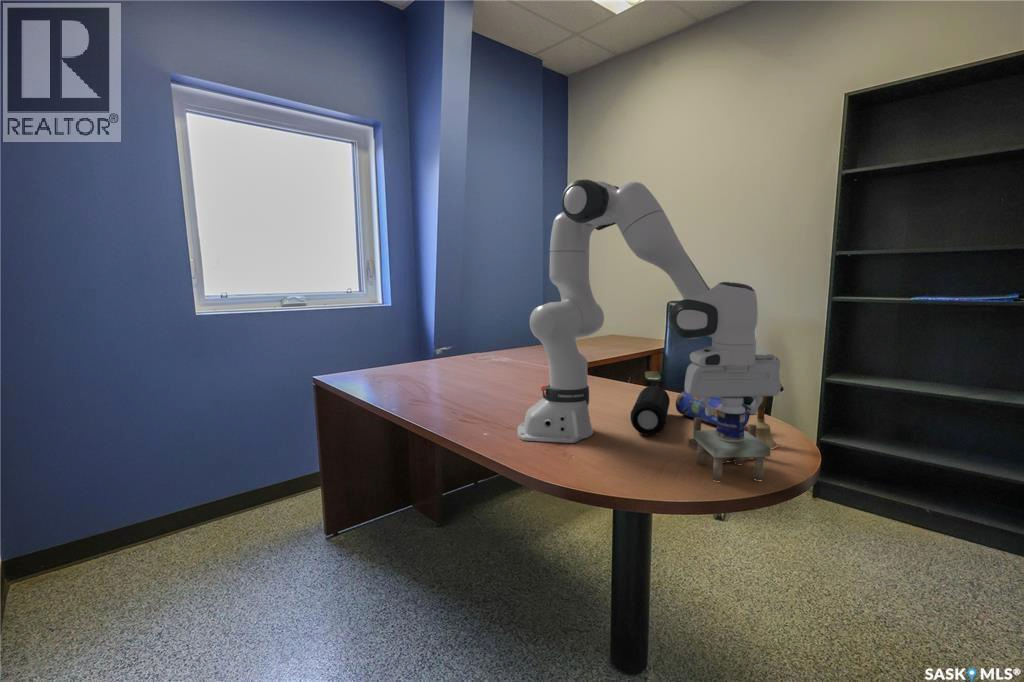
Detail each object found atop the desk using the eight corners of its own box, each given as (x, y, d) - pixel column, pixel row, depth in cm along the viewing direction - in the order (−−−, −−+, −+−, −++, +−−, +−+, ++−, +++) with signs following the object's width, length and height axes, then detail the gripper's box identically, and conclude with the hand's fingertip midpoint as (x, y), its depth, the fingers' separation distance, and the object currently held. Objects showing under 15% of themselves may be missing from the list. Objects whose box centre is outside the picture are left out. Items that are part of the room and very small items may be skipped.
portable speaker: (665, 440, 125) (665, 405, 124) (628, 436, 129) (629, 402, 128) (669, 414, 149) (670, 385, 148) (638, 411, 153) (639, 383, 151)
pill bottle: (712, 439, 103) (713, 396, 102) (722, 432, 107) (723, 392, 105) (738, 445, 99) (740, 401, 97) (747, 438, 103) (749, 396, 101)
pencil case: (753, 430, 131) (754, 399, 130) (734, 436, 127) (735, 403, 126) (691, 412, 151) (691, 384, 149) (672, 416, 147) (673, 388, 145)
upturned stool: (718, 463, 109) (719, 431, 108) (688, 446, 120) (689, 417, 119) (760, 457, 111) (761, 426, 110) (726, 441, 123) (727, 413, 122)
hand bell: (759, 451, 115) (762, 391, 113) (735, 441, 123) (737, 384, 121) (785, 447, 118) (788, 388, 116) (759, 437, 126) (762, 381, 123)
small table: (713, 483, 98) (714, 448, 97) (692, 461, 110) (693, 430, 109) (768, 482, 98) (770, 447, 97) (742, 460, 110) (743, 429, 109)
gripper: (772, 351, 103) (769, 410, 105) (682, 353, 104) (681, 411, 106) (788, 356, 97) (784, 418, 99) (693, 358, 98) (691, 419, 99)
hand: (730, 414), depth 102 cm, fingers open, 8 cm apart
